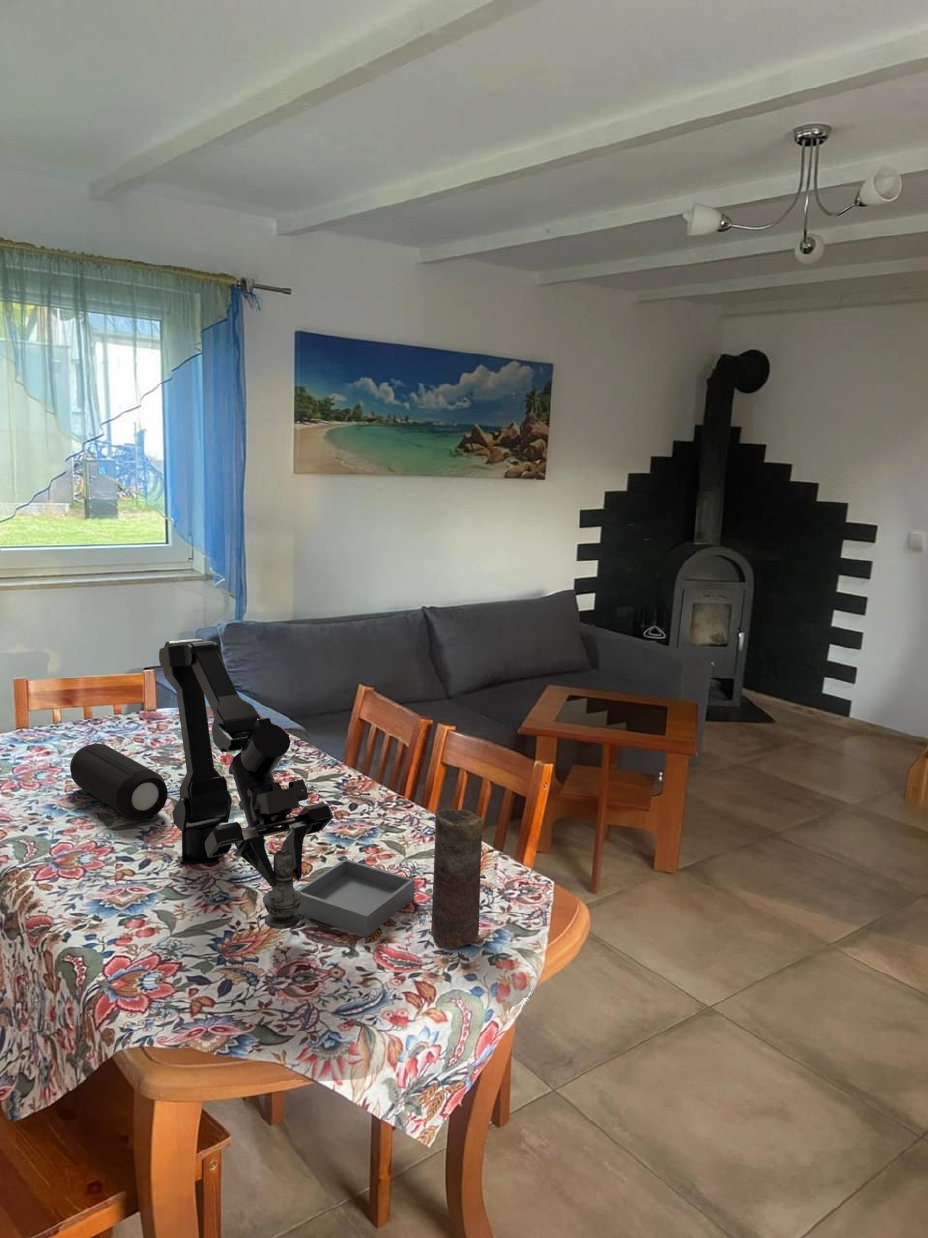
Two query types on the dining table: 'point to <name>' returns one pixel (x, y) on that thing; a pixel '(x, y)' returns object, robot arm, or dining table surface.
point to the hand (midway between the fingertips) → (287, 883)
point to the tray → (355, 897)
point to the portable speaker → (119, 781)
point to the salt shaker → (282, 894)
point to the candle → (456, 878)
